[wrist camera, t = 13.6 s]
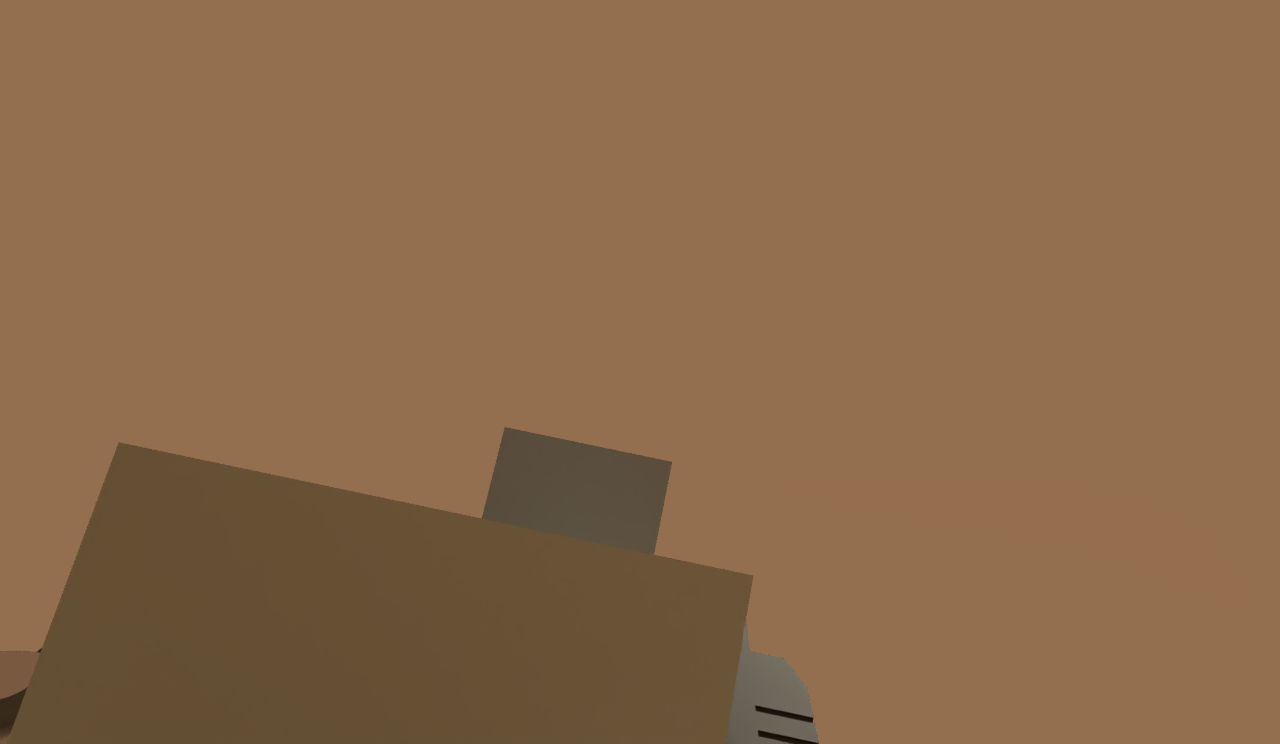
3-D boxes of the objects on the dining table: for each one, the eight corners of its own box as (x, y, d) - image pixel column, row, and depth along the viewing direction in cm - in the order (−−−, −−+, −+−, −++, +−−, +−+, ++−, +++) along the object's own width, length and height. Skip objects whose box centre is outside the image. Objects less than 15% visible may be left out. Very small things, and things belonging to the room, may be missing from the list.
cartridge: (619, 1390, 5) (841, 32, 7) (-169, 1212, 5) (311, -76, 7) (598, 802, 24) (660, 490, 26) (442, 769, 24) (517, 460, 26)
